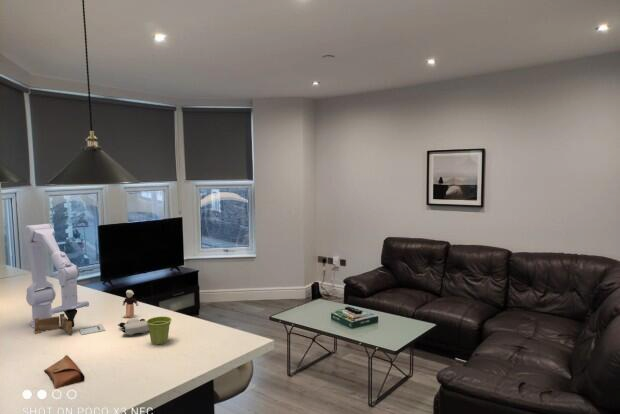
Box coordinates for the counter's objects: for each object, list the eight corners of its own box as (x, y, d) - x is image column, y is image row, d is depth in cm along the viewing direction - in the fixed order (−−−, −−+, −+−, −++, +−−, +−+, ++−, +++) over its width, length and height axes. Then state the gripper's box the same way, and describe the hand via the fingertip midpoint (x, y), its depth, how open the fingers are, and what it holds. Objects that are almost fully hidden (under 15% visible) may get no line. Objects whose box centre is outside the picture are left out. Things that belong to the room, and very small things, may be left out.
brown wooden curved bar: (60, 325, 184) (59, 314, 184) (64, 324, 186) (63, 313, 185) (68, 334, 175) (68, 322, 174) (72, 333, 176) (72, 321, 175)
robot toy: (116, 331, 183) (123, 339, 170) (115, 320, 183) (123, 328, 170) (146, 325, 190) (155, 333, 177) (145, 315, 190) (154, 322, 177)
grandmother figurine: (120, 318, 196) (119, 291, 195) (123, 315, 200) (122, 289, 199) (137, 318, 196) (136, 291, 195) (140, 315, 200) (139, 288, 199)
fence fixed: (34, 330, 181) (33, 317, 180) (66, 325, 187) (65, 312, 187) (34, 334, 177) (34, 320, 176) (67, 328, 183) (66, 315, 183)
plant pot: (177, 339, 171) (176, 317, 170) (161, 348, 162) (161, 325, 162) (157, 336, 174) (157, 315, 174) (141, 344, 165) (140, 322, 165)
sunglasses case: (41, 370, 144) (52, 350, 146) (62, 374, 148) (72, 355, 150) (55, 389, 131) (66, 368, 132) (77, 394, 135) (88, 373, 137)
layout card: (78, 328, 183) (78, 327, 183) (101, 324, 188) (101, 323, 188) (81, 335, 176) (81, 334, 176) (105, 330, 181) (105, 329, 181)
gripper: (53, 300, 170) (55, 334, 171) (91, 292, 181) (93, 324, 182) (47, 297, 175) (49, 330, 176) (84, 290, 186) (86, 320, 187)
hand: (71, 326), depth 179 cm, fingers closed, pressing on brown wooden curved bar
